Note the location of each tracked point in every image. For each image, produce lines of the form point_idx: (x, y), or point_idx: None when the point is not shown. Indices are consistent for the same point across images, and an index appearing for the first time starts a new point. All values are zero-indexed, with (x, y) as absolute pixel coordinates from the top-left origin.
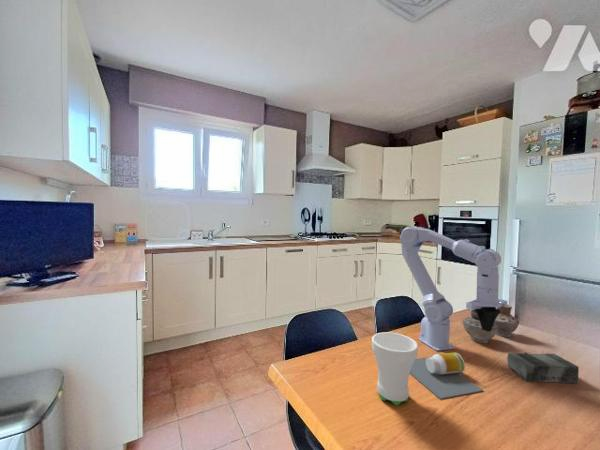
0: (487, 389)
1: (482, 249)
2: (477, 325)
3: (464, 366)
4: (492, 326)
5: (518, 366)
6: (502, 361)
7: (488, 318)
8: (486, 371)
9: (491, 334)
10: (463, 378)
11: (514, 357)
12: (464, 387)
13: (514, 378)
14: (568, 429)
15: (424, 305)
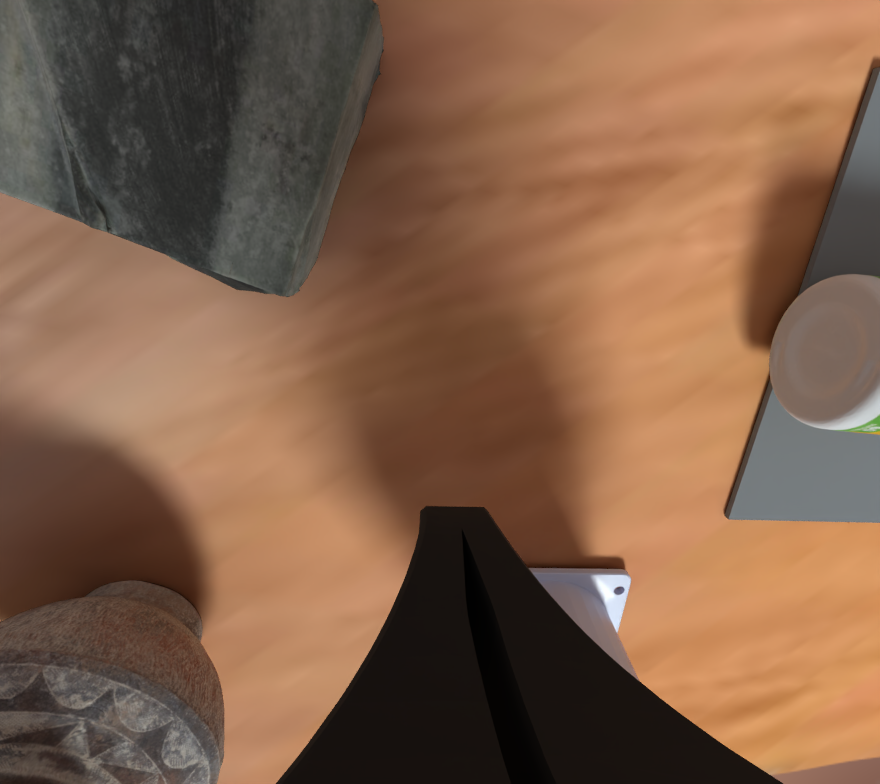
0: (816, 76)
1: None
2: (155, 734)
3: (868, 277)
4: (425, 544)
5: (345, 138)
6: (267, 345)
7: (626, 676)
8: (554, 272)
9: (77, 614)
10: (840, 242)
11: (309, 205)
12: None
13: (437, 117)
14: None
15: None
